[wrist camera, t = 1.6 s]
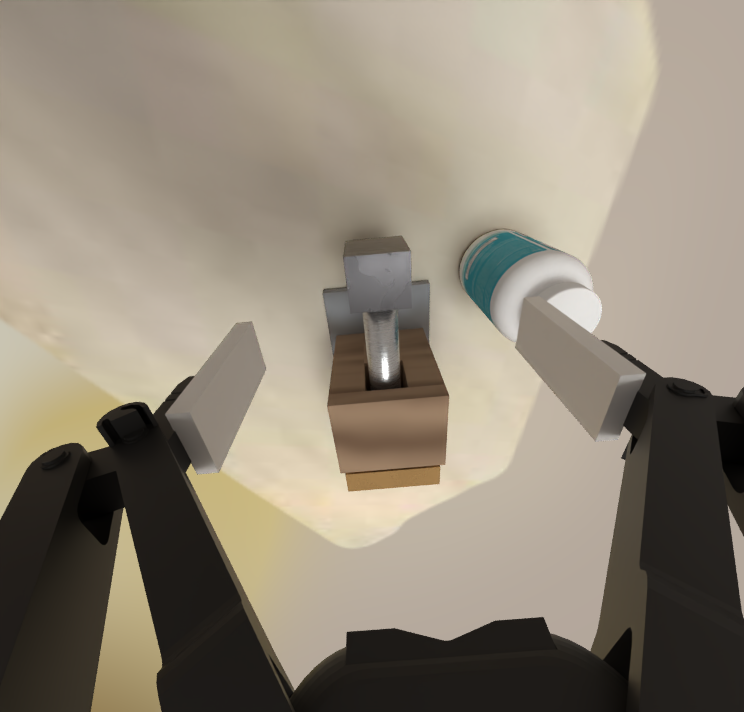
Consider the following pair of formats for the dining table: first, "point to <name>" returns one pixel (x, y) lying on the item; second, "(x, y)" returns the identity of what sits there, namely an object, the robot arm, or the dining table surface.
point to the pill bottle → (526, 280)
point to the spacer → (393, 478)
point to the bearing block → (385, 392)
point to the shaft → (379, 301)
